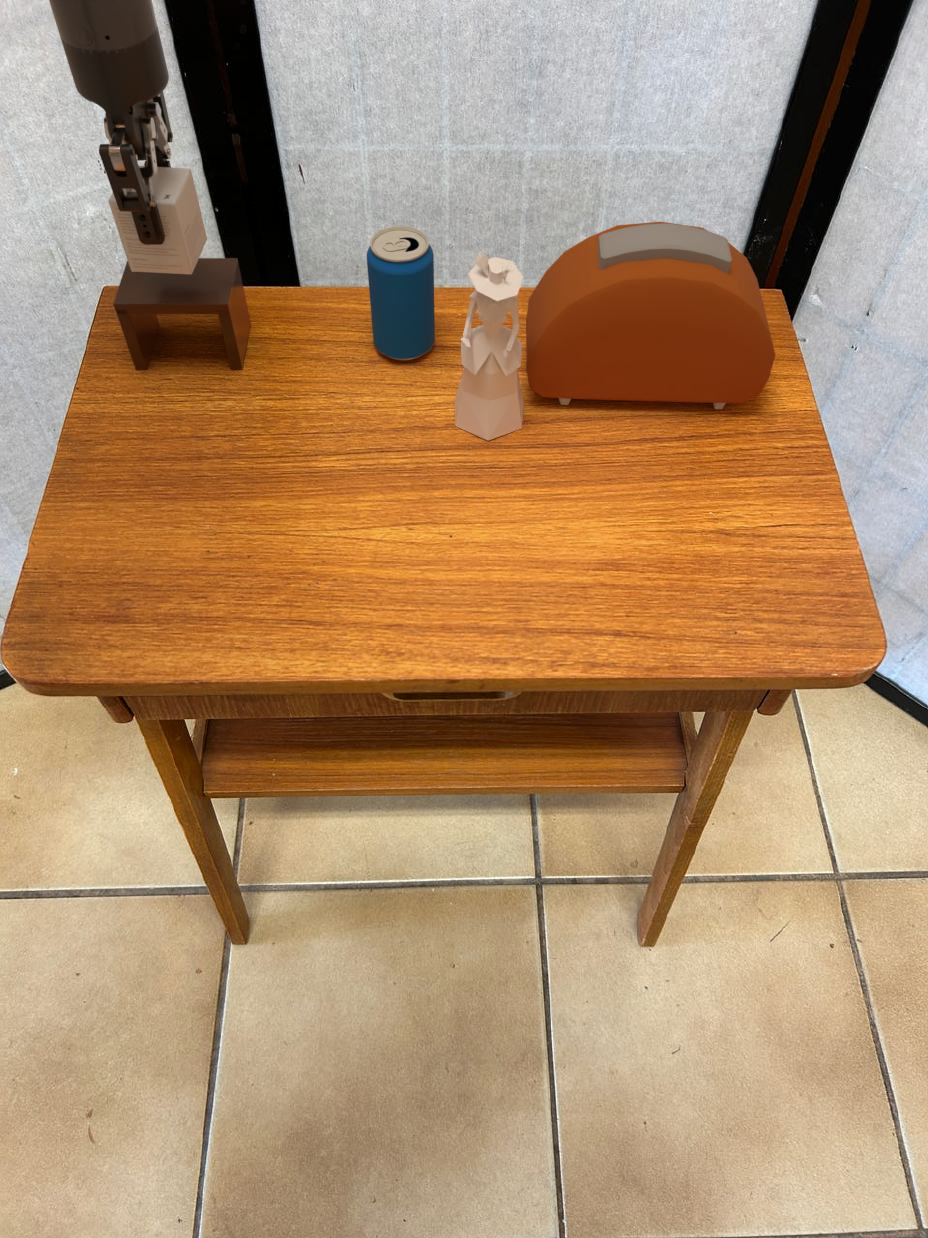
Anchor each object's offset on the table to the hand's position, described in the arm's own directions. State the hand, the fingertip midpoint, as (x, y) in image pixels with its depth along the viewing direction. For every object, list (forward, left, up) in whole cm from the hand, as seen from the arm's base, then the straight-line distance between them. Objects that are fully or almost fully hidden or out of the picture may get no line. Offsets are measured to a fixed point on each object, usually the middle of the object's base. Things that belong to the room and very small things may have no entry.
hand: (160, 219), depth 88 cm
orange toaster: (+20, -42, -15) cm, 49 cm away
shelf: (0, 0, -14) cm, 14 cm away
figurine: (+8, -31, -15) cm, 36 cm away
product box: (0, 0, -4) cm, 4 cm away
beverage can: (+12, -18, -15) cm, 27 cm away
